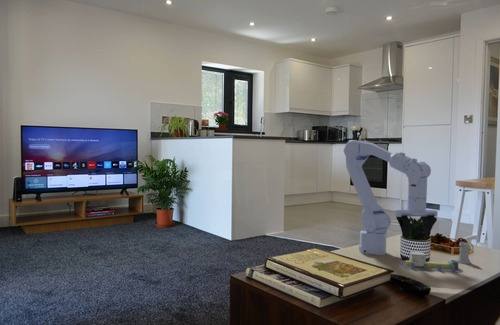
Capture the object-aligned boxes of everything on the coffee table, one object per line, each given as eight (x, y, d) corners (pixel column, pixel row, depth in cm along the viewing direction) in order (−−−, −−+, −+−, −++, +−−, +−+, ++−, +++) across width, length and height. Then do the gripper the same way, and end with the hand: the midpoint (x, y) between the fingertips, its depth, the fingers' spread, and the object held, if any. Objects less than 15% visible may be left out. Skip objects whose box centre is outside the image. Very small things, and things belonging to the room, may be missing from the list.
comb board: (404, 272, 118) (404, 261, 118) (397, 263, 128) (398, 253, 128) (462, 276, 115) (462, 265, 115) (450, 267, 125) (451, 257, 125)
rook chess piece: (469, 264, 128) (470, 241, 128) (472, 268, 124) (473, 244, 124) (454, 263, 130) (455, 240, 129) (457, 266, 125) (458, 243, 125)
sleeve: (412, 265, 120) (412, 254, 120) (409, 262, 124) (409, 251, 124) (425, 266, 120) (425, 255, 119) (421, 263, 123) (422, 252, 123)
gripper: (404, 199, 120) (403, 240, 120) (444, 199, 122) (442, 240, 123) (392, 196, 127) (391, 235, 127) (430, 196, 129) (428, 235, 130)
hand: (415, 237), depth 125 cm, fingers open, 7 cm apart
